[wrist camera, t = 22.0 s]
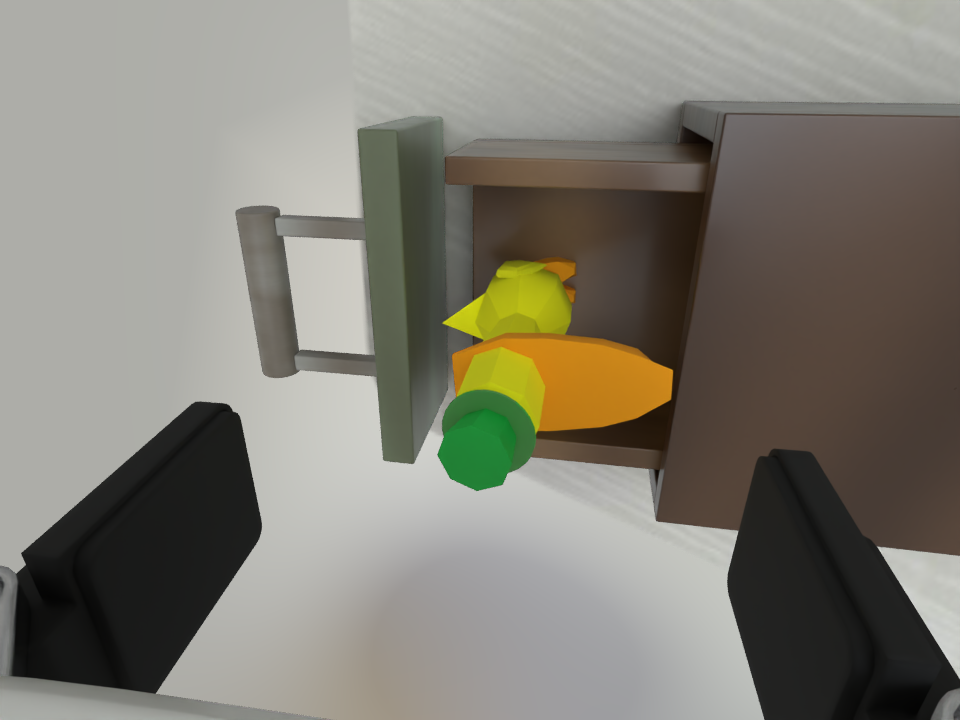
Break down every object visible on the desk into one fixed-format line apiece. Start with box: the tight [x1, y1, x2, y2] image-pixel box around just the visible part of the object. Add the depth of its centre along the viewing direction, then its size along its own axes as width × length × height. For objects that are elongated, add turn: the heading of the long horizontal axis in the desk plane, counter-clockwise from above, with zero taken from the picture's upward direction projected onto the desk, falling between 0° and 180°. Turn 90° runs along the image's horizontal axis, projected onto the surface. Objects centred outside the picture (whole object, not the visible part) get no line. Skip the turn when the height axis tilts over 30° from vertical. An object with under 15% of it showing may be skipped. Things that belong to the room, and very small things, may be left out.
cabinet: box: [649, 101, 960, 556], centre depth 19 cm, size 15×13×8 cm
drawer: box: [236, 116, 713, 470], centre depth 21 cm, size 18×11×6 cm, turn 90°
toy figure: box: [438, 257, 673, 491], centre depth 17 cm, size 7×4×12 cm, turn 94°
